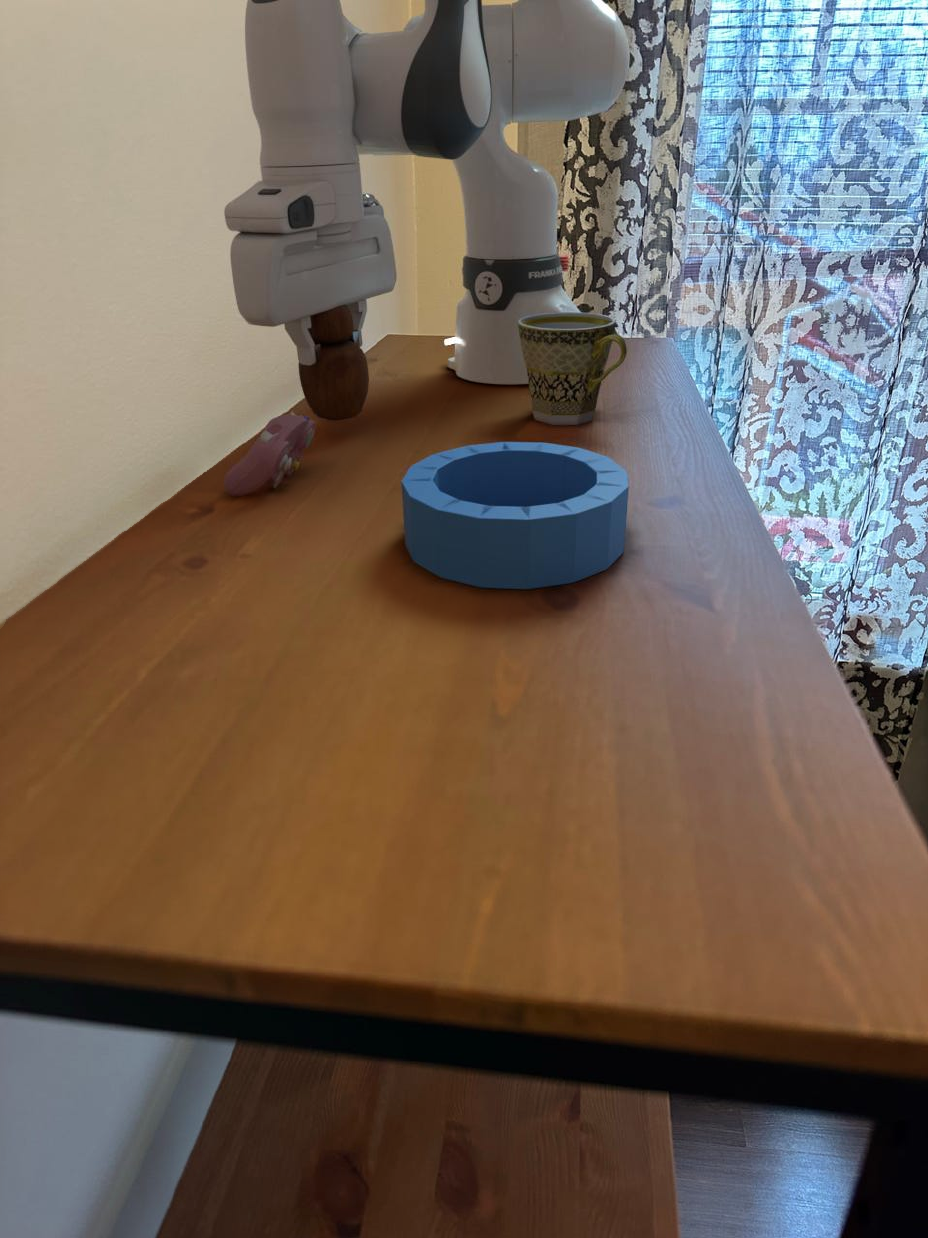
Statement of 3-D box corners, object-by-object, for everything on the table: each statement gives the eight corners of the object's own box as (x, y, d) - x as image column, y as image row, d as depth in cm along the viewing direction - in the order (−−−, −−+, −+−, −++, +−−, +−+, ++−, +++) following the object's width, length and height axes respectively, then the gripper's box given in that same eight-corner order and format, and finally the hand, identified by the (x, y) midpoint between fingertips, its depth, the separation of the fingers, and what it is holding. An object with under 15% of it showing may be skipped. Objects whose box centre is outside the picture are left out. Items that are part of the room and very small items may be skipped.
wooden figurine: (296, 422, 84) (274, 263, 77) (321, 405, 89) (303, 254, 81) (356, 427, 82) (340, 264, 75) (379, 409, 87) (366, 255, 79)
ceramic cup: (498, 416, 91) (498, 320, 86) (562, 399, 96) (565, 308, 91) (586, 442, 82) (591, 337, 77) (651, 422, 87) (659, 322, 82)
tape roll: (475, 488, 71) (473, 431, 69) (653, 521, 64) (659, 459, 62) (364, 559, 60) (358, 493, 57) (568, 609, 52) (571, 536, 50)
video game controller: (265, 517, 71) (290, 447, 67) (217, 492, 71) (239, 421, 67) (306, 478, 79) (331, 414, 76) (263, 455, 79) (286, 390, 75)
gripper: (354, 191, 84) (367, 331, 92) (208, 210, 69) (237, 376, 77) (406, 191, 82) (414, 336, 89) (265, 212, 67) (289, 384, 74)
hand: (331, 355), depth 83 cm, fingers closed on wooden figurine, 5 cm apart
